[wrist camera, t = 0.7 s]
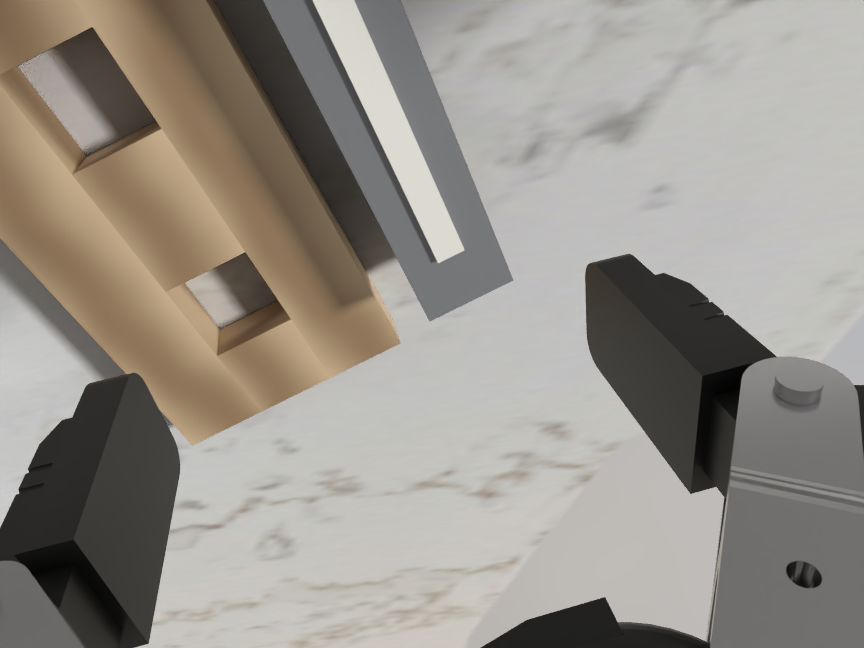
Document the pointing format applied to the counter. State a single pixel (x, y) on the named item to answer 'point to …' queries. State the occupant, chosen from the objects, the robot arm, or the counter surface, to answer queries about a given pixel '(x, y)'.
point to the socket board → (180, 215)
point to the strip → (396, 143)
